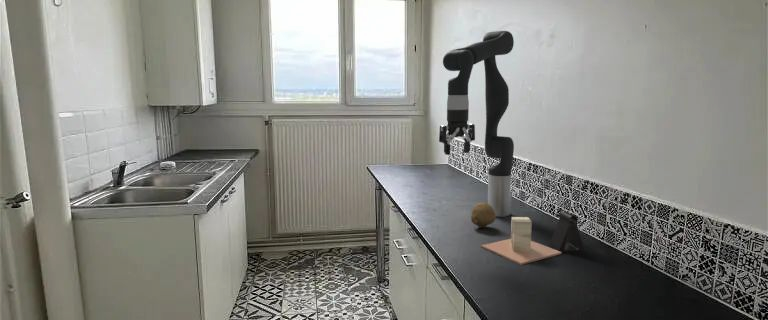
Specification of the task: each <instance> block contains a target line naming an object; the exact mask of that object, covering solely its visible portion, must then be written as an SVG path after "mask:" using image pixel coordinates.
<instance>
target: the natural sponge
mask: <svg viewBox="0 0 768 320" xmlns="http://www.w3.org/2000/svg"><path fill="white" fill-rule="evenodd" d="M470 221H471V222H472V224H473V225H476V226H477V227H479V228H486V227H487V226H489V225H492V224H493V223H494V222H495V221H496V215H495V213H494V210H493V208H492V207H491V205H489V204H488V202H485V201H483V202H477V203H476V204H474V206H473V207H472V211H471V216H470Z"/></svg>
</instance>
